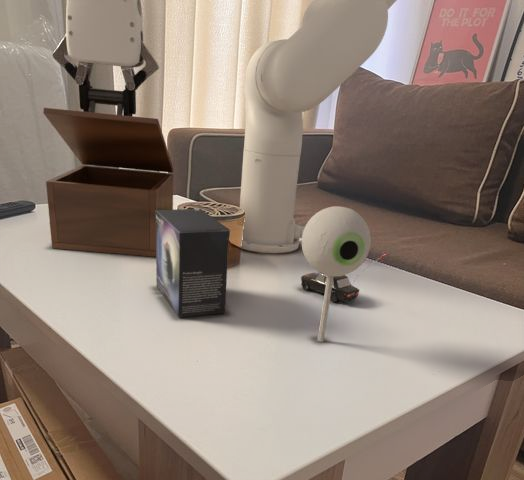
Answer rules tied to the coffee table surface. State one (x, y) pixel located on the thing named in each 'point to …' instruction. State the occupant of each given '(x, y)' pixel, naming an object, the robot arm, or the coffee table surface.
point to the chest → (107, 209)
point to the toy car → (339, 286)
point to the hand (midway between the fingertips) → (108, 116)
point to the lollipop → (335, 247)
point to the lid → (112, 135)
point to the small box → (191, 261)
